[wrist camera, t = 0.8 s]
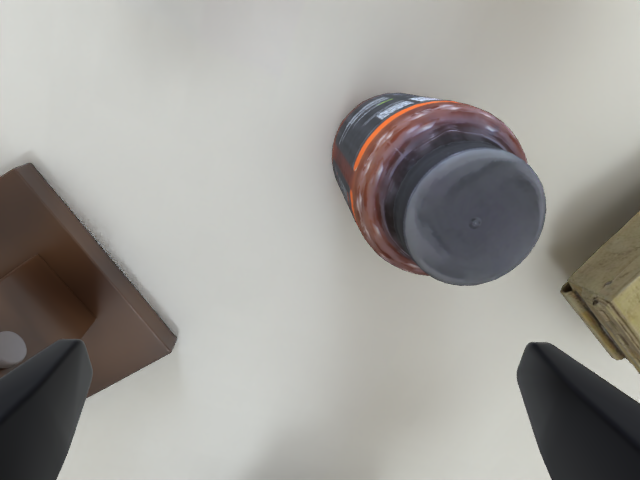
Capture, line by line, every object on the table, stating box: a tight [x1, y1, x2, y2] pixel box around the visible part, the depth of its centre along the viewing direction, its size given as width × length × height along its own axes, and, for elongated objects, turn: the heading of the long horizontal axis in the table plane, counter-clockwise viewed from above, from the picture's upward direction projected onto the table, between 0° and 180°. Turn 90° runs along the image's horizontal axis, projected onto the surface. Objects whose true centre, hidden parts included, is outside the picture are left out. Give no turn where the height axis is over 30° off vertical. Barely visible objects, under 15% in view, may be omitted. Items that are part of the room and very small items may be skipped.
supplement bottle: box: [332, 93, 546, 286], centre depth 17 cm, size 6×6×11 cm
